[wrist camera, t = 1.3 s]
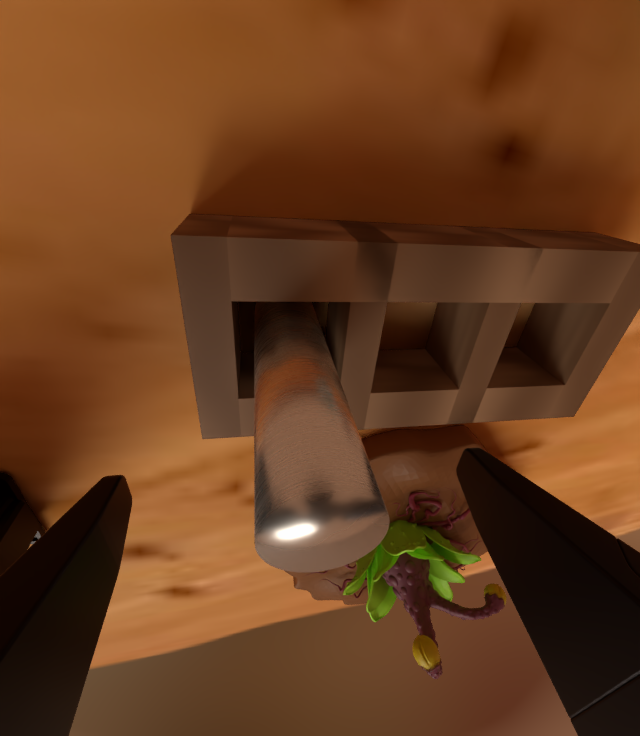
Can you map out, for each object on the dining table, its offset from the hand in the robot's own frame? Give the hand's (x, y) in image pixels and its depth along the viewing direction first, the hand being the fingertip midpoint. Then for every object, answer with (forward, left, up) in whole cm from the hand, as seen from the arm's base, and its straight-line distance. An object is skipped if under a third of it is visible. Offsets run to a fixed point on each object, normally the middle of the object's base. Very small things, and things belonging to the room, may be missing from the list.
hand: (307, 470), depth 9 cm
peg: (0, 0, -10) cm, 10 cm away
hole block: (+6, 0, -10) cm, 12 cm away
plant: (+9, -18, -11) cm, 23 cm away
